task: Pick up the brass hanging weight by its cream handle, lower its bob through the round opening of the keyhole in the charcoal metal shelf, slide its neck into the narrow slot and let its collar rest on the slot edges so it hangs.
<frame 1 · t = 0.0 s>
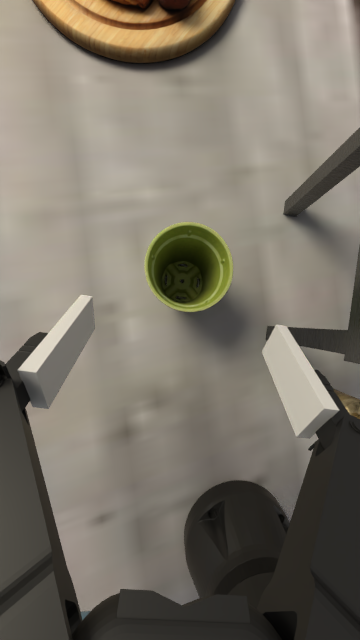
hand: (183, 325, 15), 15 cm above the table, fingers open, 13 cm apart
brass hanging weight: (330, 405, 32), on the table
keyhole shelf: (328, 279, 32), on the table
plant pot: (182, 282, 31), on the table
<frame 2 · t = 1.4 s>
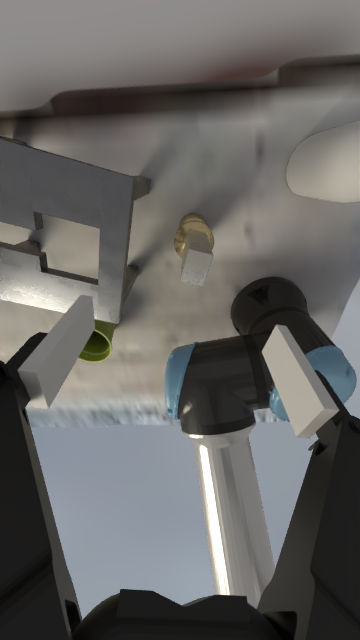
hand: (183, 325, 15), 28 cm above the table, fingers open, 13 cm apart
brass hanging weight: (192, 228, 38), on the table
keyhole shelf: (84, 218, 38), on the table
plant pot: (102, 321, 50), on the table
milk bottle: (310, 166, 33), on the table
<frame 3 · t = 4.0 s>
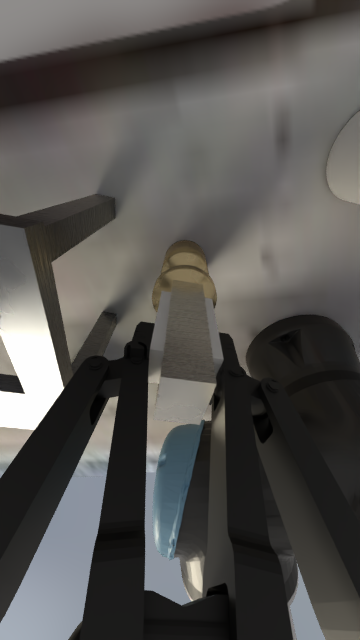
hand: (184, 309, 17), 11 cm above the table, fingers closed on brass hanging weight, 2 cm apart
brass hanging weight: (185, 261, 26), on the table, touching gripper
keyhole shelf: (31, 259, 27), on the table
when the fingers open (19 cm above the table, at t = 12.1 s): brass hanging weight stays where it is, resting on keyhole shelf.
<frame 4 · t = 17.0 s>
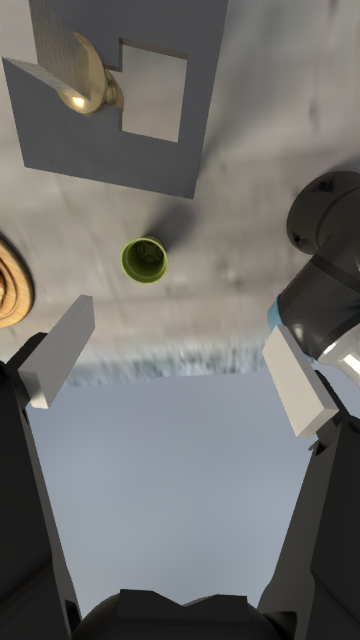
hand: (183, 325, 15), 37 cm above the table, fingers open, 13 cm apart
brass hanging weight: (105, 99, 30), point 7 cm above the table, touching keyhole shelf
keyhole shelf: (137, 115, 36), on the table
plant pot: (150, 248, 49), on the table
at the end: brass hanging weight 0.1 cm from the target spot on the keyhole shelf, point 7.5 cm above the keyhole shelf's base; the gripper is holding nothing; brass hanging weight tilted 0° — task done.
